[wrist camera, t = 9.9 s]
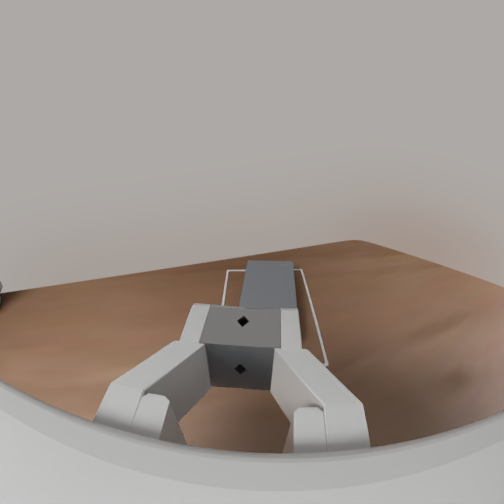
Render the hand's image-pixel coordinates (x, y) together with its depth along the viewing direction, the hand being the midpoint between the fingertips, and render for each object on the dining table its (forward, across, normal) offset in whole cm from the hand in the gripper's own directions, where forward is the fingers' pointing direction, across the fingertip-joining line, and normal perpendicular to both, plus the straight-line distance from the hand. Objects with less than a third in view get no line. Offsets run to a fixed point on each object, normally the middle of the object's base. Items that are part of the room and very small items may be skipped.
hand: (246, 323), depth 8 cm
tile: (+13, -1, +14) cm, 19 cm away
